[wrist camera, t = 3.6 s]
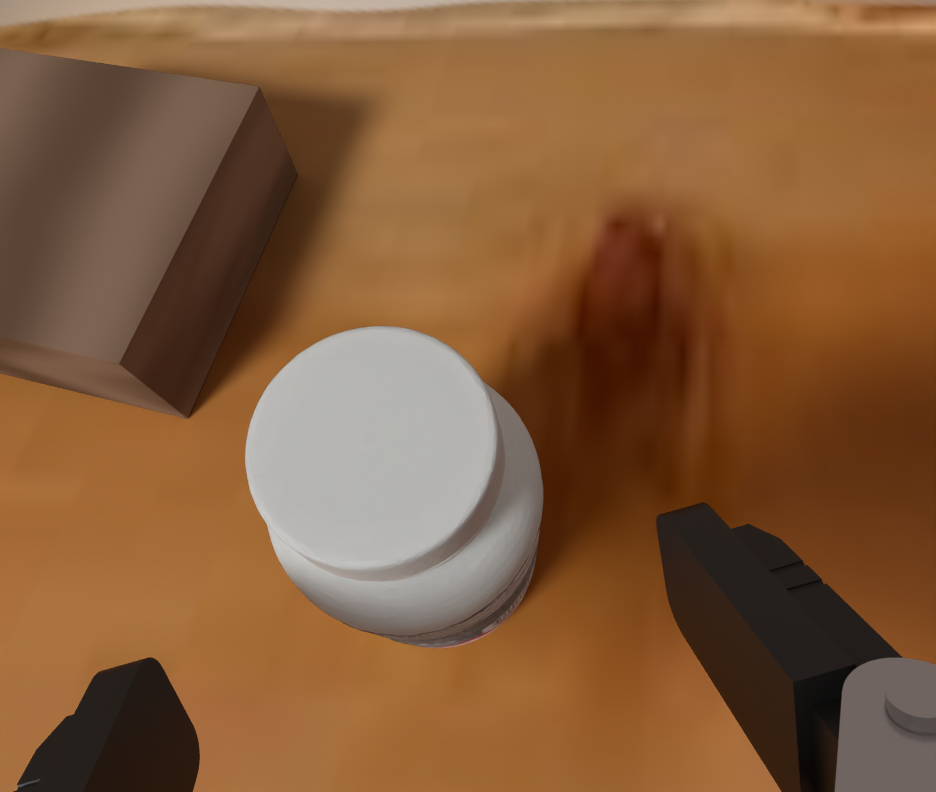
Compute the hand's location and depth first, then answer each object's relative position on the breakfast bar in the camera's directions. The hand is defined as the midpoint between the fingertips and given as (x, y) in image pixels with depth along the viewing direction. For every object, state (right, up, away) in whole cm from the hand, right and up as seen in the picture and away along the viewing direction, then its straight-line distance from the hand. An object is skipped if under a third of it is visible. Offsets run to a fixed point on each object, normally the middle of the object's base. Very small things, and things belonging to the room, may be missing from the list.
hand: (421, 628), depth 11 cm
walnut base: (-12, +8, +13) cm, 20 cm away
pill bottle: (0, -1, +9) cm, 9 cm away
